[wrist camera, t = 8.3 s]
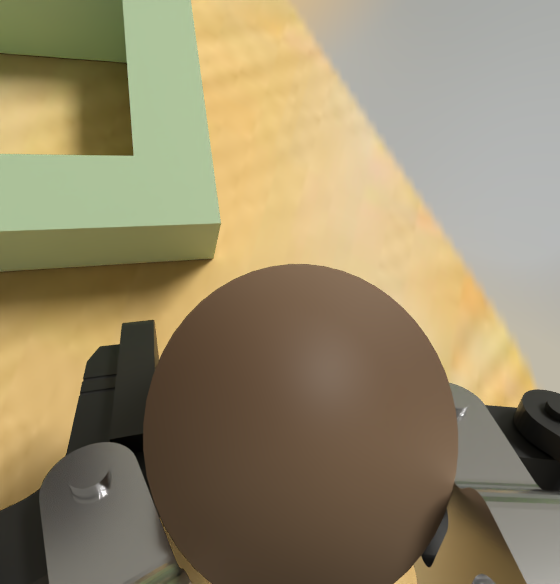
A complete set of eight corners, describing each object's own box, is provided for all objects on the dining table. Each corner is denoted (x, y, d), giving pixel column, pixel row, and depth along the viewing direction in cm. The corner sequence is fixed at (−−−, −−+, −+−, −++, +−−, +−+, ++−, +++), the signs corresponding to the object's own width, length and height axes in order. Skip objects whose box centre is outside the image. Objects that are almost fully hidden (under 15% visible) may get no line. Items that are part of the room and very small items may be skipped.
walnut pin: (300, 468, 13) (496, 555, 5) (172, 498, 12) (157, 676, 4) (280, 346, 15) (414, 255, 6) (160, 361, 13) (132, 275, 5)
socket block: (213, 258, 15) (221, 223, 12) (-180, 282, 12) (-293, 241, 9) (184, 26, 18) (184, -44, 15) (-132, -8, 15) (-204, -105, 12)
